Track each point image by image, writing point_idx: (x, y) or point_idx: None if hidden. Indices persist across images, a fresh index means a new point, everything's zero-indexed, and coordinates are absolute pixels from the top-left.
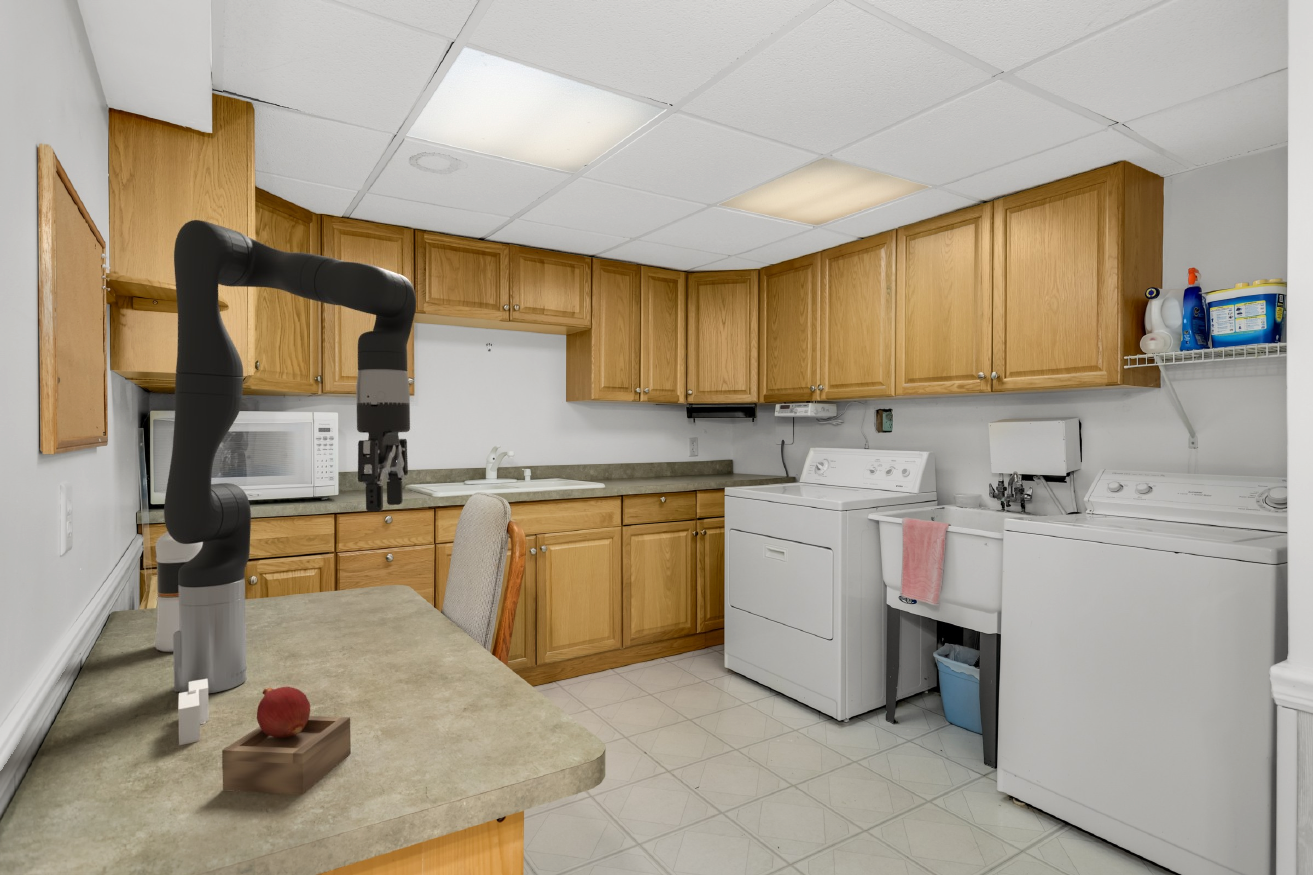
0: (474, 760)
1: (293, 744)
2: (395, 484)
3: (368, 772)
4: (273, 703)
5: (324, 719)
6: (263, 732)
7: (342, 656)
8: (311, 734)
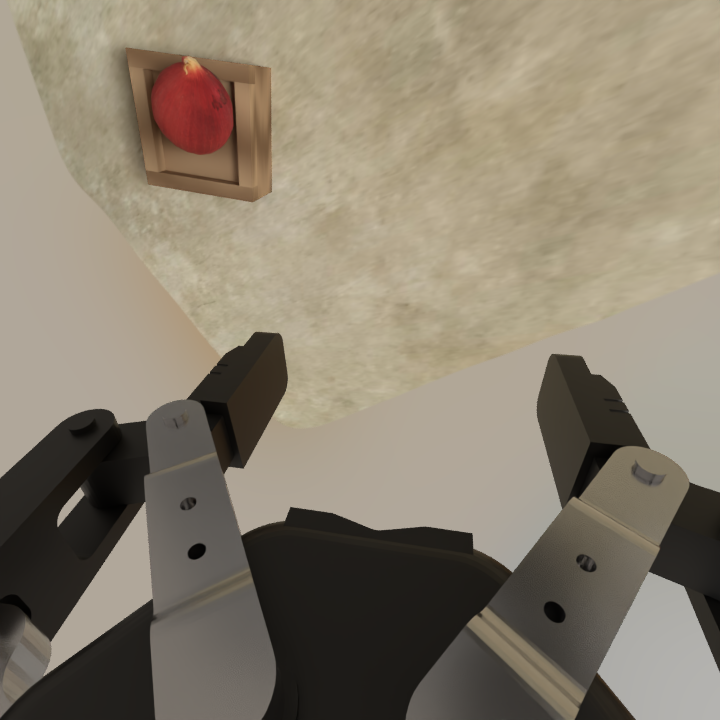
0: None
1: None
2: (566, 470)
3: (231, 233)
4: (152, 110)
5: (242, 164)
6: None
7: None
8: (227, 150)
